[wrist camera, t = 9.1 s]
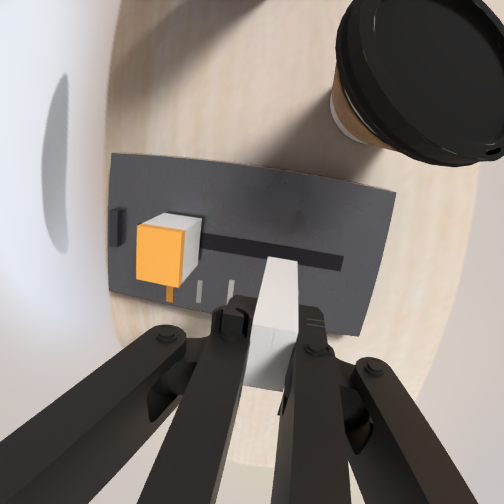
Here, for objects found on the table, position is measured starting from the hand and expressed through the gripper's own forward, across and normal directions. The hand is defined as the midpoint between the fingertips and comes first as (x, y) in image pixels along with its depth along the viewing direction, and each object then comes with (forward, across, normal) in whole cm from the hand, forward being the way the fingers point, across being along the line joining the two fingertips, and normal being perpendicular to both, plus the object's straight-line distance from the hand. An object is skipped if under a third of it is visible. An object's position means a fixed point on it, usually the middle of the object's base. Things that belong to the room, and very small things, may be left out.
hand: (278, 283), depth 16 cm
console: (+9, -3, -1) cm, 10 cm away
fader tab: (+7, -8, -1) cm, 10 cm away
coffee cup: (+10, +5, +11) cm, 16 cm away
